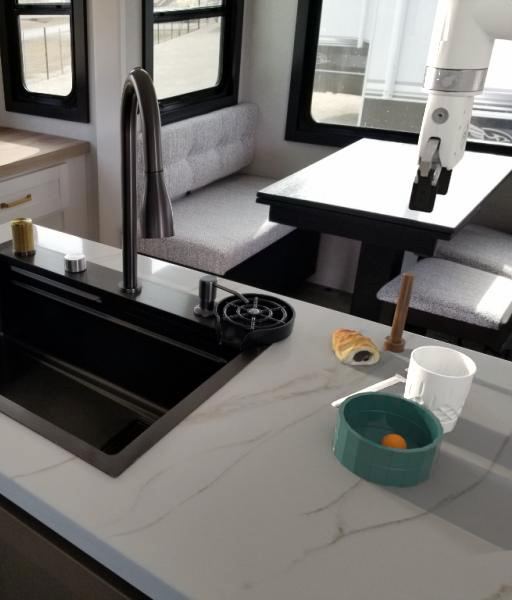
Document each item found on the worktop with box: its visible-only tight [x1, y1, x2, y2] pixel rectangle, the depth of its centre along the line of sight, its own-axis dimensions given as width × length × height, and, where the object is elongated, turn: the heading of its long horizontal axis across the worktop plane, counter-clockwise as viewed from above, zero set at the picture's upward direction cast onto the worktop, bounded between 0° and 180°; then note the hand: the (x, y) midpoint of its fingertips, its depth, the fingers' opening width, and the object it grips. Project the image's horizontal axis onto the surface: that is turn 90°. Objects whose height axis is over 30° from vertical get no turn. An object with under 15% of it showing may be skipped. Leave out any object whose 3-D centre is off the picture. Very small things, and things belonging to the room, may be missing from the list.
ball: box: [381, 434, 407, 449], centre depth 81 cm, size 3×3×3 cm
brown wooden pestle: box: [382, 271, 417, 354], centre depth 103 cm, size 3×3×14 cm
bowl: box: [331, 391, 444, 488], centre depth 81 cm, size 12×12×6 cm
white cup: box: [403, 345, 477, 434], centre depth 87 cm, size 8×8×10 cm
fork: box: [331, 367, 409, 408], centre depth 96 cm, size 3×20×2 cm, turn 118°
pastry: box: [331, 328, 381, 366], centre depth 105 cm, size 9×7×4 cm
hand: (428, 201), depth 94 cm, fingers open, 9 cm apart
